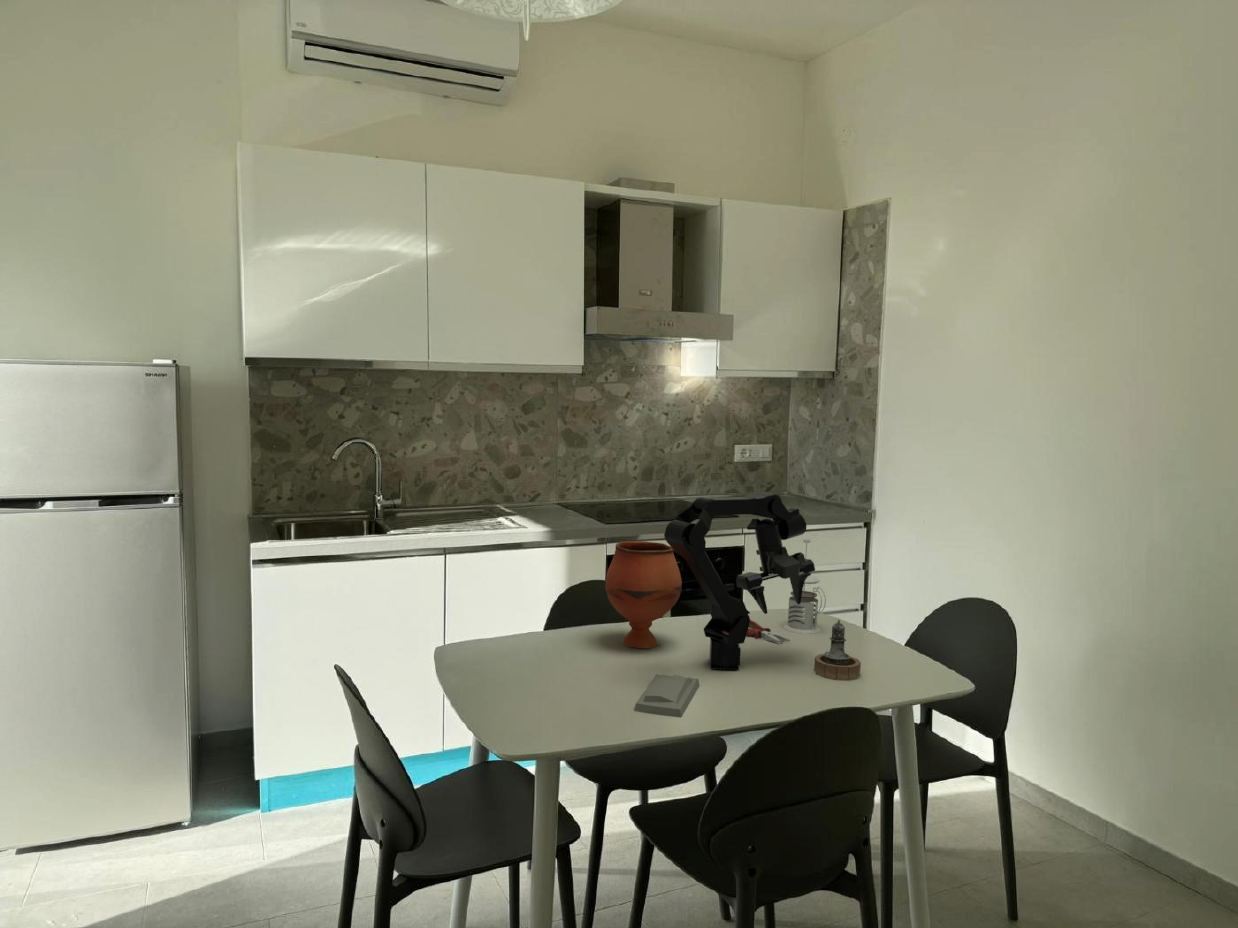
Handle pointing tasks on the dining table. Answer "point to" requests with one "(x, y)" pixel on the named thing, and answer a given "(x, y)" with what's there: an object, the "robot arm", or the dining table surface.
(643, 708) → the grey stepped rectangular block
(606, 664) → the dining table surface
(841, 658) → the salt shaker
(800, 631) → the french press
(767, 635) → the pliers
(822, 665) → the shaker socket
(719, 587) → the robot arm
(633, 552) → the goblet
